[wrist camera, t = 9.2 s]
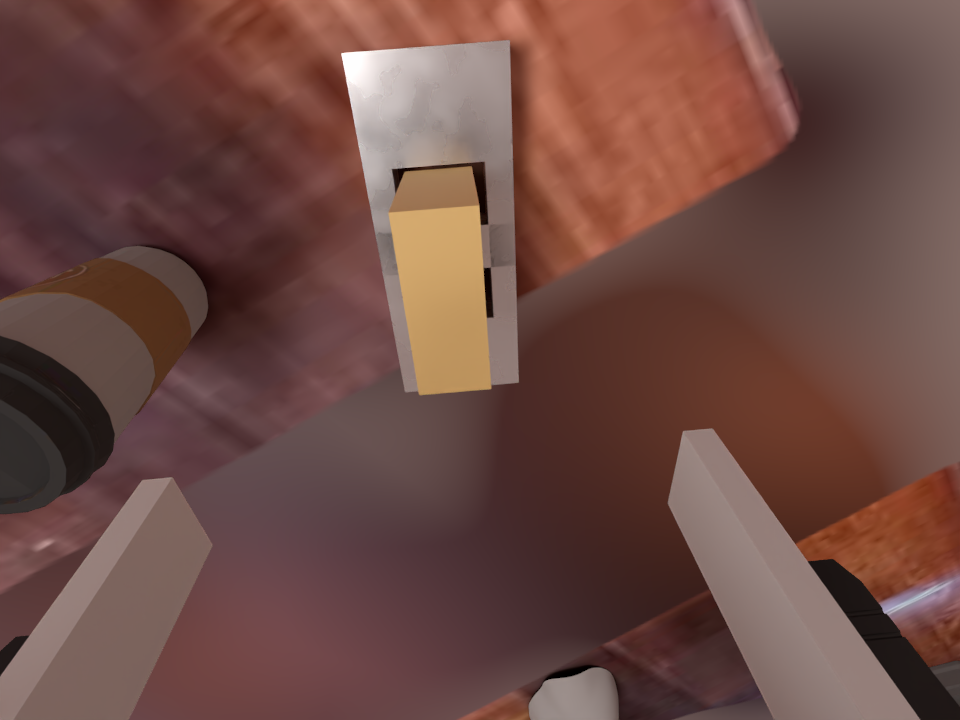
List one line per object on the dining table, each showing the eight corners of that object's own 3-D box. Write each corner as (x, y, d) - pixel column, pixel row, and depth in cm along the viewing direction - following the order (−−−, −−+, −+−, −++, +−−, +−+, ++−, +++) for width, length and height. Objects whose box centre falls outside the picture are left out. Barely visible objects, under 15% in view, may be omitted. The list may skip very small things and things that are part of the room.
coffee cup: (158, 202, 28) (-82, 320, 15) (254, 313, 32) (128, 479, 20) (57, 264, 30) (-235, 418, 17) (161, 363, 34) (-11, 545, 21)
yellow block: (480, 300, 32) (491, 389, 24) (427, 304, 32) (419, 395, 24) (470, 158, 27) (479, 205, 19) (407, 163, 27) (388, 212, 19)
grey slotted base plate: (514, 363, 35) (518, 382, 33) (407, 372, 35) (405, 392, 33) (504, 41, 25) (509, 40, 23) (350, 53, 25) (341, 53, 22)
